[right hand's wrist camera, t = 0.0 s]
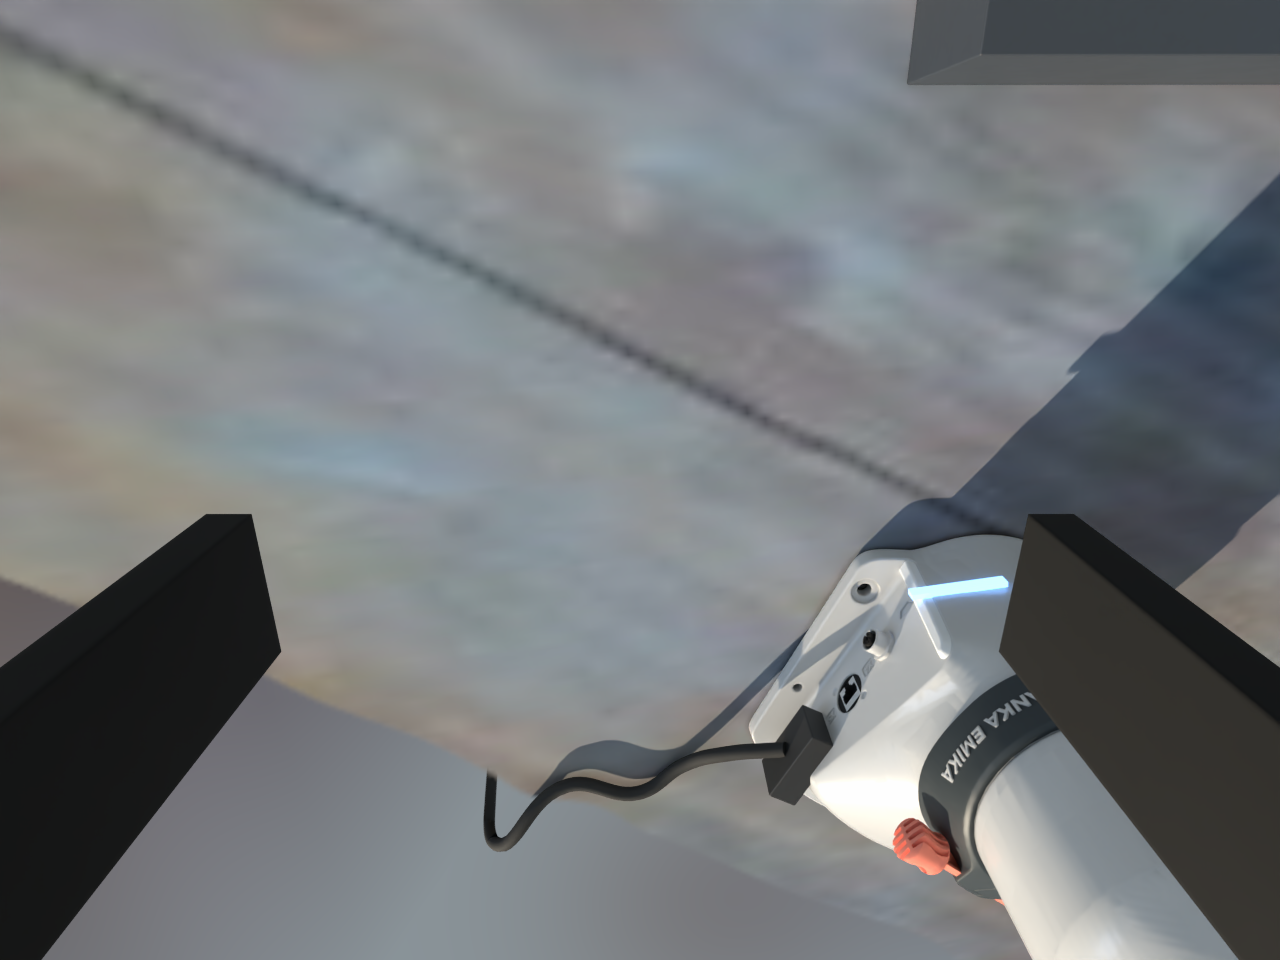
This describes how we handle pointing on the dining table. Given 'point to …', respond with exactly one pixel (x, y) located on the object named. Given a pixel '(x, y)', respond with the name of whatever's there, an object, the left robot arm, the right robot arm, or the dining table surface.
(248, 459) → the dining table surface
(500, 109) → the dining table surface
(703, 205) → the dining table surface
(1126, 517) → the dining table surface
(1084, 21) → the beam
